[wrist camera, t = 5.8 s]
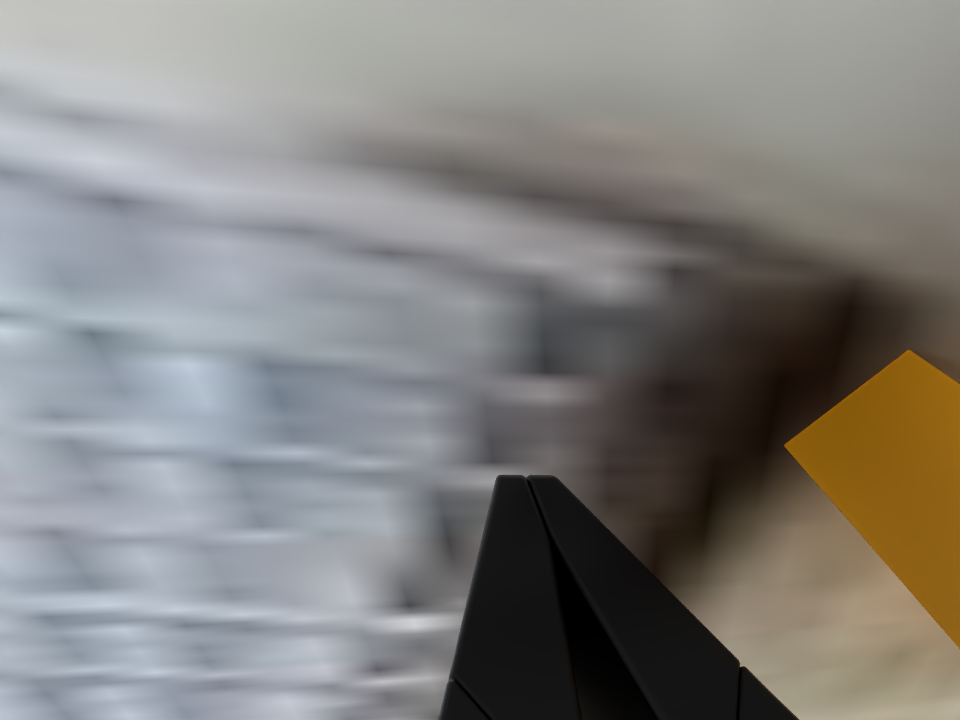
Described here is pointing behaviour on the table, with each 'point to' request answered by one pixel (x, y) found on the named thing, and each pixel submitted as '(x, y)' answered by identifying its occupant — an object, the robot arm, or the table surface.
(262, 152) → the table surface
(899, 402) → the pipe clamp
